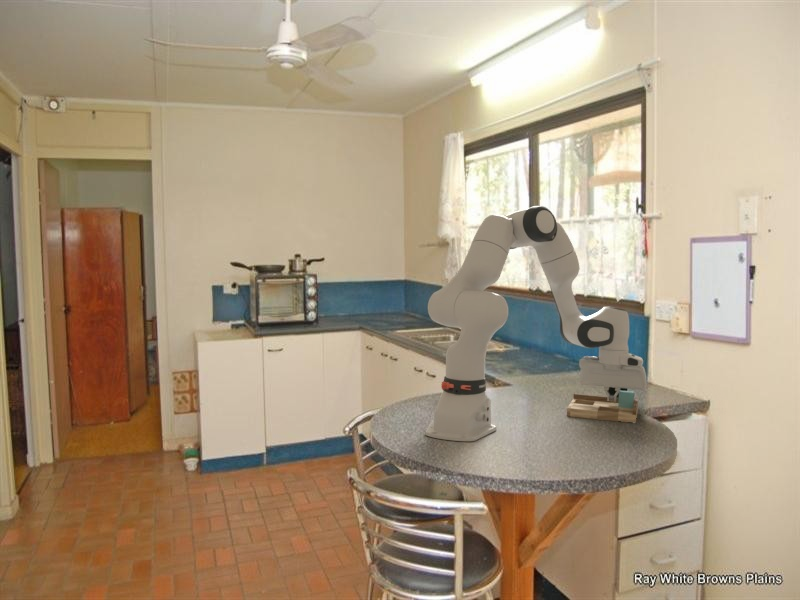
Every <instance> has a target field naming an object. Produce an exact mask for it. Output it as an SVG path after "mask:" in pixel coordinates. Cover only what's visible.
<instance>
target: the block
mask: <svg viewBox="0 0 800 600" xmlns="http://www.w3.org/2000/svg"><path fill="white" fill-rule="evenodd" d="M635 393H636V392H635V391H632V390H631V391H630V390H627V391H621V390H620V392H619V403H618V407H621V408H632V409H633V405H634V399H635V398H636V397H635Z"/></svg>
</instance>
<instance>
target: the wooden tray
mask: <svg viewBox="0 0 800 600" xmlns="http://www.w3.org/2000/svg"><path fill="white" fill-rule="evenodd" d="M572 395H573V398H572V400H571V402H570V403H569V404H568V406H567V407H566V417H573V418H582V419H593V420H602V421H610V422H618V421H621V422H620V423H627V422H635V423H634V424H636V423H637V419H638V411H639V410H638V409H639V398H638V397H634V405H633V409H632V408H621V407H618V403H619V398H616V402H614V401H607V396H603V395H594V394H593V395H591V394H584V393H583V394H582V393H581V394H580V393H573V394H572ZM636 418H637V419H636Z"/></svg>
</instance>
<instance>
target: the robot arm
mask: <svg viewBox="0 0 800 600" xmlns="http://www.w3.org/2000/svg"><path fill="white" fill-rule="evenodd" d="M529 246H531V247H532V248H533V249H534V250H535V252H536V255H537V258H538V261H539V263H540V266H541V268H542V271H543V274H544V275H545V278H546V281H547V283H548V285H549V288H550V291H551V294H552V297H553V301H554V303H555V306H556V309H557V312H558V316H559V332H560V336H561V338H562V339H563V340H564V341H565V342H566V343H567V344H569V345H572V346H578V347H579V346H580V347H581V348H582V347H583V348H586V349H594V348H598V356H594V355H593V356H591V355H590V356H589V355H584V356H583V357H581V358H580V359H579V361H578V367H579V368H580V372H579V384H581V385H582V386H583V385H584V386H594V387H595V386H596V387H603V391H604V394H605V395H606V397H607V401H614V402H616V396H617V395H618V393H619V392H620V388H626V389H627V390H628V389H629V390H641V391H644V390H645V389H646V388H647V374H646V369H645V367H644V360H643V358H642V357H641V356H639V355H635V354H633V353H630V352H629V351H630V350H629V349H630V347H629V344H628V341H629V338H630V317H629V313H628V311H626V310H625V309H623V308H619V307H614V306H609V305H608V306H603V307H602V308H601V309H600V310H599V311H597V312H595V313H593V314H591V315H587V316H585V315H584V314H582V312H581V311H580V309H579V307H578V304H577V301H576V298H575V295H574V291H573V288H572V287H573V285H572V284H573V282H574V281H575V279H576V278H577V276H578V275H579V273H580V262H579V259H578V255H577V253H576V250H575V248H574V245H573V243H572V241H571V239H570V237H569V235H568V234H567V232H566V230H565V229H564V227H563V226H562V224H561V223H559V221H557V220H556V217H555V215H554V213H553V212H552V211H551V210H550V209H549V208H548V207H546V206H543V205H534V206H531V207H528V208H524V209H521V210H516V211H513V212H511V213H509V214H506V215H501V214H494V213H493V214H490V215H488V216H486V217H485V218H484V219H483V221H482V222H481V223H480V226H479V228H477V231H476V233H475V235H474V237H473V239H472V242H471V244H470V247H469V249H468V252H467V253H466V256H465V259H464V261H463V263H462V265H461V266H460V268H459V270H458V271H457V272H456V274H454V276H453V277H452V278H451V280H449V281H448V283H447V284H445V285H444V286H443V287H442V288H440V289H438V290H437V291H434V292H433V293H432V294H431V296H430V297H429V299H428V303H427V313H428V315H429V318H430V319H431V320H432V321H433V322H434V323H436V324H439V325H442V326H445V327H449V328H456V329H457V328H458V329H460V334H459V337H458V339H457V340H456V342H454V343H452V344H450V345H449V347H448V348H447V349H446V352H445V376H443V381H441V385H440V387H441V389H442V392H441V394H440V397H439V400H438V401H437V404H436V407H435V410H434V416H433V418H432V420H431V421H430V423H429V425H428V427H427V428H426V429H425V432H424V435H425V436H428V437H430V438H434V439H438V440H439V439H440V440H446V441H447V440H448V441H456V442H475V441H478V440H479V439H481V438H483V437H485V436H487V435H490V434H491V433H493V432H496V431H497V426H496V425H495V424H492V404H491V403H492V402H491V399H490V398H489V396H488V395H487V394H486V391H487V378H486V377H485V376H486V375H485V374H486V373H485V372H486V357H487V351H488V347H489V344H490V341H491V340H492V338H493V337H494V335H495V333H496V332H497V331H498V330H500V329H501V328H503V326H504V325H505V324H506V322H507V320H508V318H509V317H508V316H509V310H510V309H509V305H508V302H507V301H506V298H505V297H503V295H501V294H498V293H495V292H491V291H488V290H486V289H487V288H489V287H490V286H492V285H494V284H495V283H497V282H498V280H499V279H500V277H501V275H502V272H503V270H504V266H505V265H506V264H505V263H506V261H507V259H508V256H509V253H510V250H513V249H517V248H523V247H525V248H527V247H529ZM609 387H615V391H617V392H616V393H615V395H610V394H609V392H608V390H609Z"/></svg>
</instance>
